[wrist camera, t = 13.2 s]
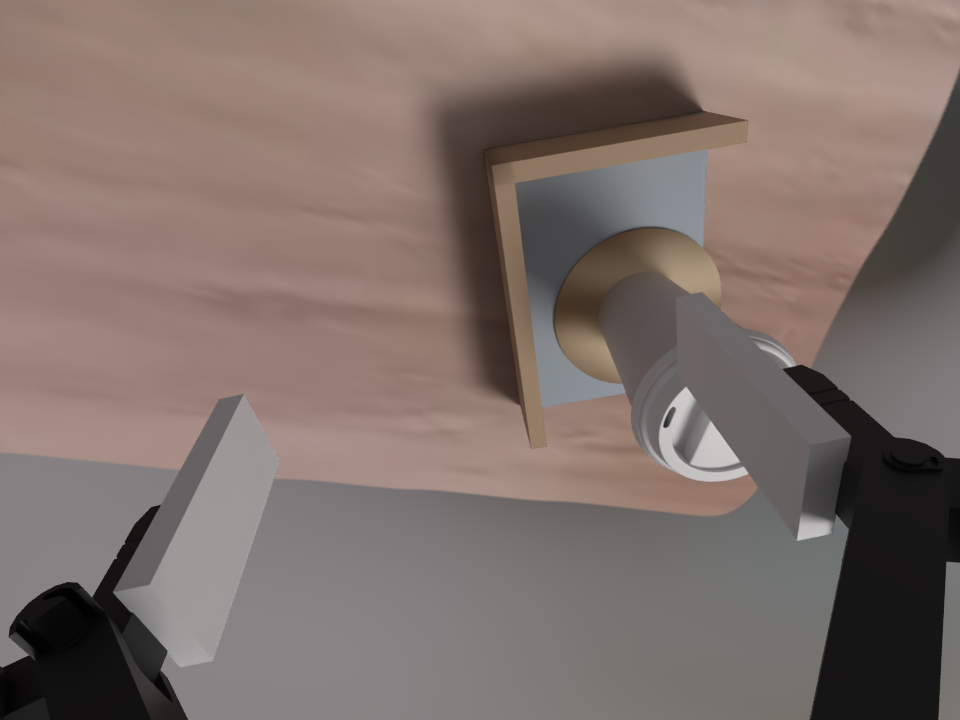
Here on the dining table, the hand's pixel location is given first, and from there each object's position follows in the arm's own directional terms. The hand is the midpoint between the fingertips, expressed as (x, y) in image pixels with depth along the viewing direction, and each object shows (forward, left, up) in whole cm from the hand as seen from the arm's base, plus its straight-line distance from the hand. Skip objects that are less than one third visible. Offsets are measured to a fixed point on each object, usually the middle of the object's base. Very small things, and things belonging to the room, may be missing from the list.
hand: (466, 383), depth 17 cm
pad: (+11, +13, -24) cm, 30 cm away
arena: (+8, +11, -25) cm, 28 cm away
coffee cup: (+11, +13, -24) cm, 29 cm away
